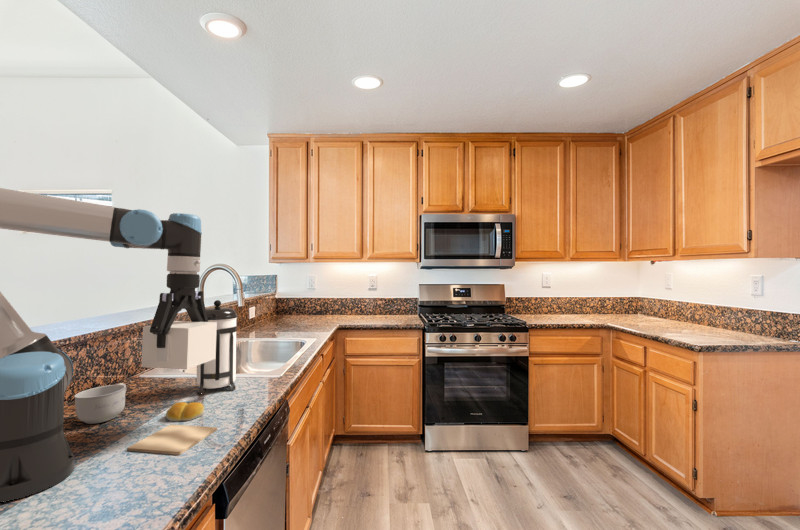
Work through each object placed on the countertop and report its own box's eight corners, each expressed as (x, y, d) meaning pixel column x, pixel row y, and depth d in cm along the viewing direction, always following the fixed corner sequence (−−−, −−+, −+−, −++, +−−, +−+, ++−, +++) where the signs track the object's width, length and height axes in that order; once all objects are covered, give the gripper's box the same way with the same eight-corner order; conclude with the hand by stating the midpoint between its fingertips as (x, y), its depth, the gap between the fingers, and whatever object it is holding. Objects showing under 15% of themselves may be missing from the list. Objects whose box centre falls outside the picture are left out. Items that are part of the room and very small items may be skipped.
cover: (186, 369, 92) (188, 328, 92) (141, 367, 93) (143, 326, 94) (215, 358, 104) (216, 322, 104) (174, 356, 105) (176, 320, 106)
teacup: (97, 429, 95) (97, 397, 95) (62, 425, 97) (63, 394, 97) (144, 409, 109) (145, 381, 109) (113, 406, 111) (114, 379, 111)
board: (179, 454, 82) (180, 452, 82) (127, 450, 84) (127, 447, 84) (217, 429, 95) (217, 427, 95) (170, 426, 97) (170, 424, 97)
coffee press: (178, 392, 124) (179, 301, 124) (218, 379, 138) (219, 298, 139) (216, 400, 117) (218, 303, 117) (255, 385, 132) (256, 299, 132)
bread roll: (198, 421, 101) (198, 406, 101) (162, 423, 100) (162, 408, 100) (208, 410, 109) (209, 396, 109) (175, 411, 108) (175, 397, 108)
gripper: (163, 272, 87) (160, 367, 86) (223, 273, 111) (220, 347, 110) (133, 272, 88) (129, 365, 87) (199, 273, 112) (196, 346, 111)
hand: (180, 355), depth 99 cm, fingers closed on cover, 12 cm apart
